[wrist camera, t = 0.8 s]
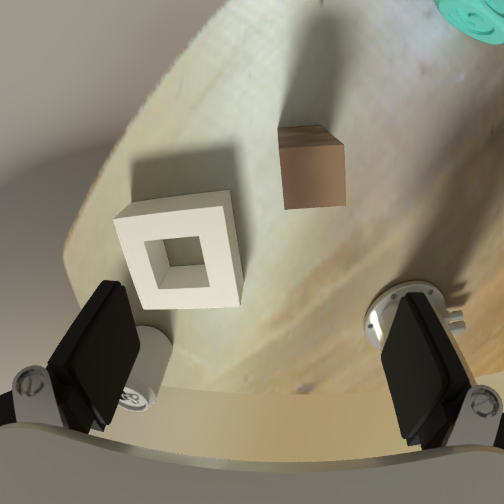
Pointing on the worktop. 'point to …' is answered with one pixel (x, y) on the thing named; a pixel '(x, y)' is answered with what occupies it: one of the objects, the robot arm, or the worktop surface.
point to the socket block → (177, 226)
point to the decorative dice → (476, 18)
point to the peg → (311, 167)
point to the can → (146, 370)
